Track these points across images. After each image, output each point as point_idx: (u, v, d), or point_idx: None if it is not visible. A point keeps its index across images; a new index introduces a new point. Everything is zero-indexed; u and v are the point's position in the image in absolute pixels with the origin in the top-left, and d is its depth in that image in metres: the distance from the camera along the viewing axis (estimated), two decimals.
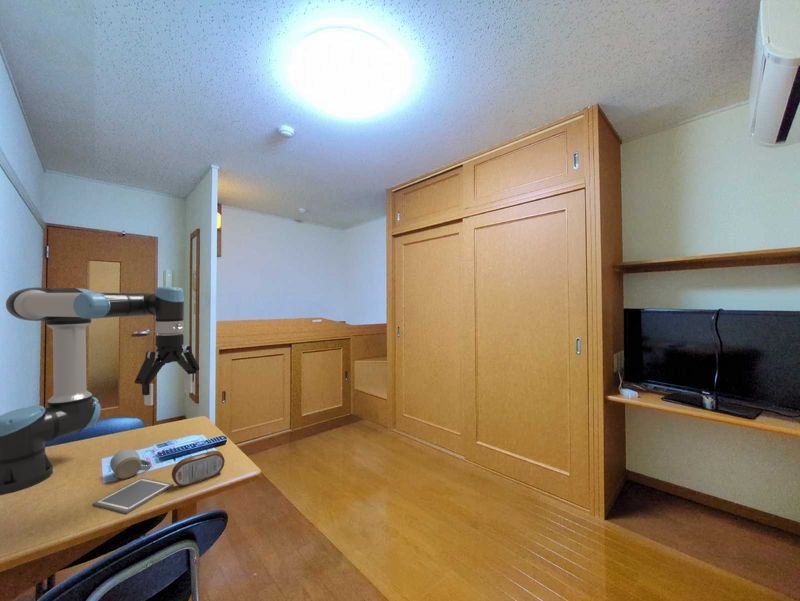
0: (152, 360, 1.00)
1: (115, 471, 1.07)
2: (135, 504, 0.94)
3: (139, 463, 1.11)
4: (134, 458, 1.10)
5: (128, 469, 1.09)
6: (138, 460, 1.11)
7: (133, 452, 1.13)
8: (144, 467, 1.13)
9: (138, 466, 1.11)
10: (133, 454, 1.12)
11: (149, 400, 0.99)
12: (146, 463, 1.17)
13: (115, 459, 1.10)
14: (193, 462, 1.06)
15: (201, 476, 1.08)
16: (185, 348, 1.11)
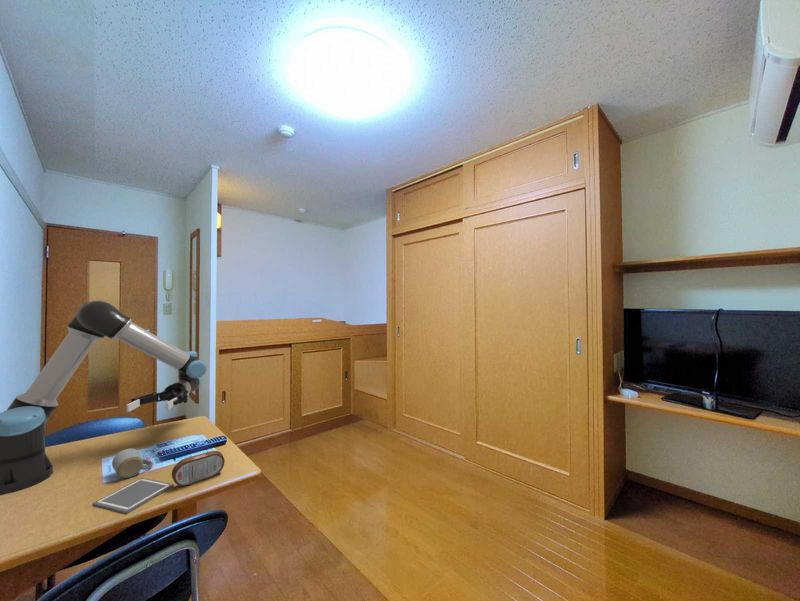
0: None
1: (117, 470, 1.07)
2: (135, 504, 0.94)
3: (141, 462, 1.11)
4: (136, 457, 1.10)
5: (129, 469, 1.09)
6: (140, 459, 1.11)
7: (135, 452, 1.14)
8: (146, 466, 1.13)
9: (140, 465, 1.11)
10: (135, 454, 1.12)
11: (170, 407, 1.25)
12: (148, 462, 1.17)
13: (117, 458, 1.10)
14: (193, 462, 1.06)
15: (201, 476, 1.08)
16: None
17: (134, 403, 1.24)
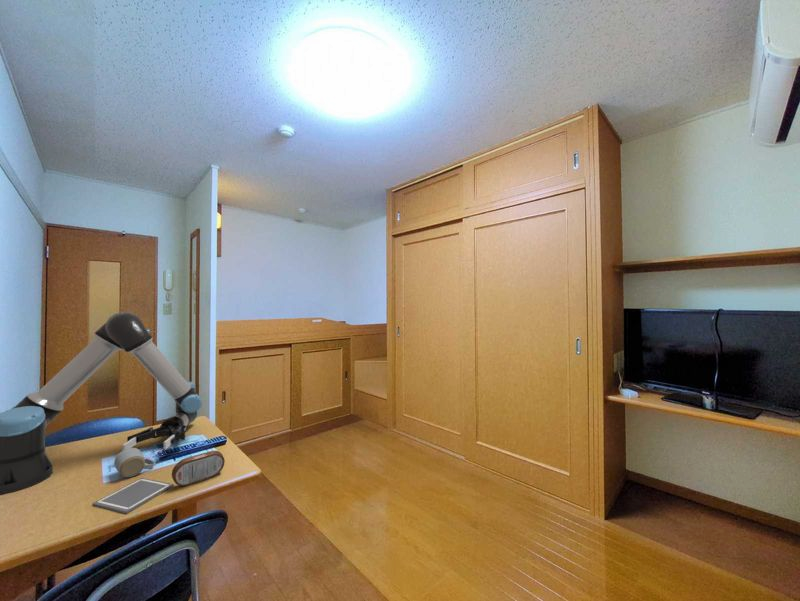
0: None
1: (119, 470, 1.07)
2: (135, 504, 0.94)
3: (143, 462, 1.12)
4: (138, 457, 1.11)
5: (132, 468, 1.09)
6: (142, 459, 1.12)
7: (137, 451, 1.14)
8: (148, 466, 1.14)
9: (142, 465, 1.11)
10: (137, 453, 1.13)
11: (168, 446, 1.22)
12: (150, 462, 1.18)
13: (119, 458, 1.10)
14: (193, 462, 1.06)
15: (201, 476, 1.08)
16: None
17: (130, 442, 1.21)
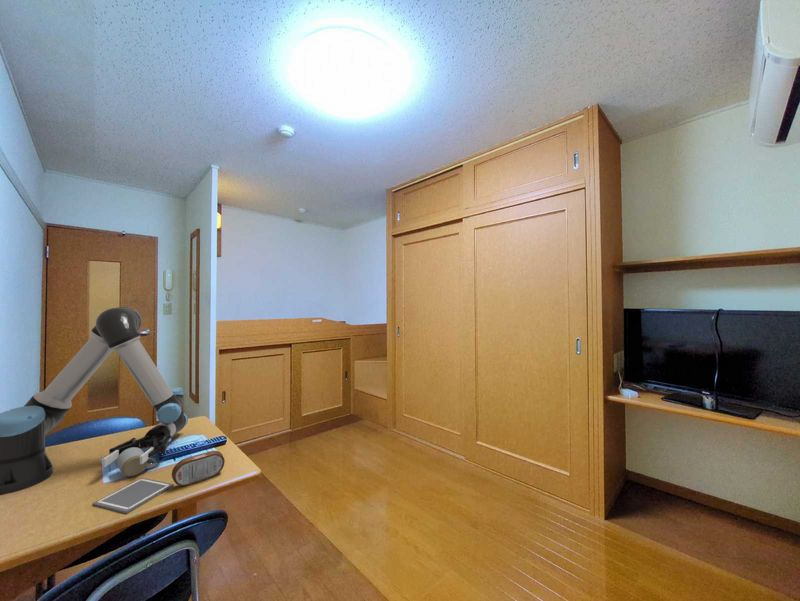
0: None
1: (121, 469, 1.08)
2: (135, 504, 0.94)
3: None
4: None
5: (134, 467, 1.10)
6: None
7: (139, 450, 1.14)
8: (150, 465, 1.14)
9: (144, 464, 1.12)
10: (139, 452, 1.13)
11: (145, 460, 1.11)
12: (152, 461, 1.18)
13: (121, 457, 1.11)
14: (193, 462, 1.06)
15: (201, 476, 1.08)
16: None
17: (112, 455, 1.11)
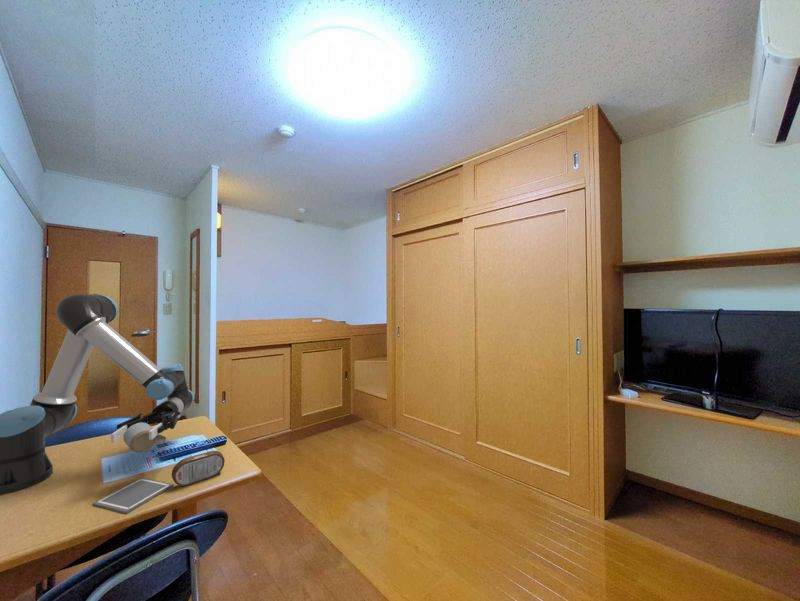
0: None
1: (130, 444, 1.02)
2: (135, 504, 0.94)
3: (154, 437, 1.06)
4: None
5: (142, 443, 1.04)
6: None
7: (147, 426, 1.09)
8: (159, 441, 1.08)
9: (153, 440, 1.06)
10: (147, 427, 1.07)
11: (154, 435, 1.05)
12: (160, 437, 1.12)
13: (129, 432, 1.05)
14: (193, 462, 1.06)
15: (201, 476, 1.08)
16: None
17: (120, 431, 1.05)
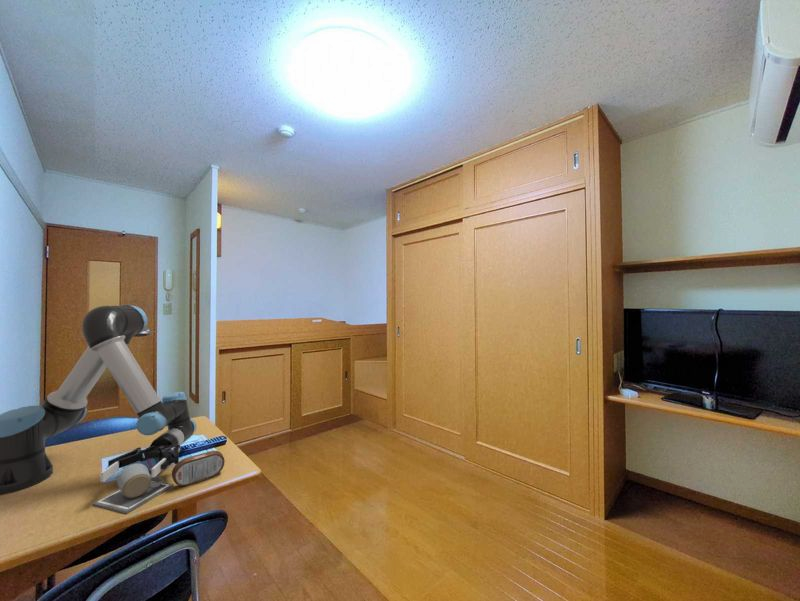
0: None
1: (122, 490, 0.95)
2: (135, 504, 0.94)
3: (149, 480, 0.99)
4: (143, 475, 0.98)
5: (136, 488, 0.97)
6: (148, 477, 0.99)
7: (142, 467, 1.02)
8: (154, 484, 1.01)
9: (148, 484, 0.99)
10: (142, 470, 1.00)
11: (157, 473, 0.99)
12: (157, 479, 1.05)
13: (122, 476, 0.98)
14: (193, 462, 1.06)
15: (201, 476, 1.08)
16: None
17: (111, 468, 0.99)
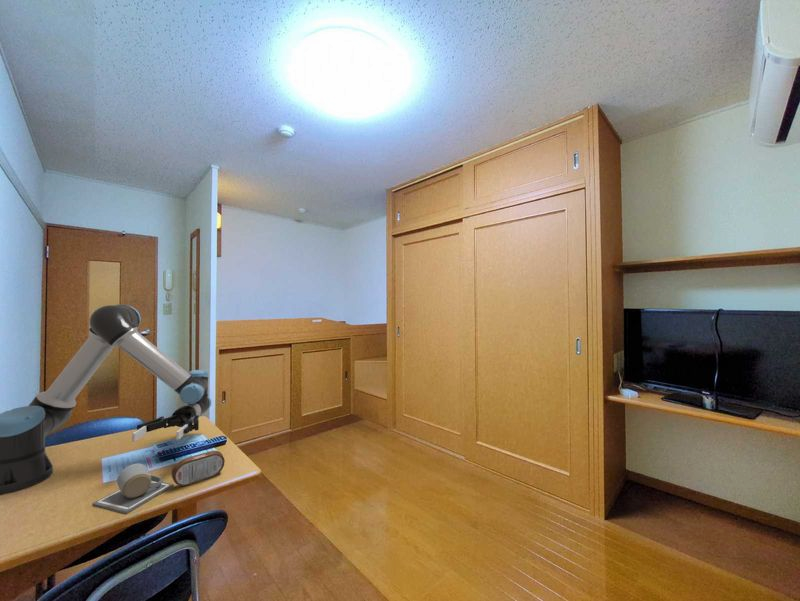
0: None
1: (122, 490, 0.95)
2: (135, 504, 0.94)
3: (149, 480, 0.99)
4: (143, 475, 0.98)
5: (136, 488, 0.97)
6: (148, 477, 0.99)
7: (142, 467, 1.02)
8: (154, 484, 1.01)
9: (148, 484, 0.99)
10: (142, 470, 1.00)
11: (180, 436, 1.12)
12: (157, 479, 1.05)
13: (122, 476, 0.98)
14: (193, 462, 1.06)
15: (201, 476, 1.08)
16: None
17: (140, 431, 1.12)
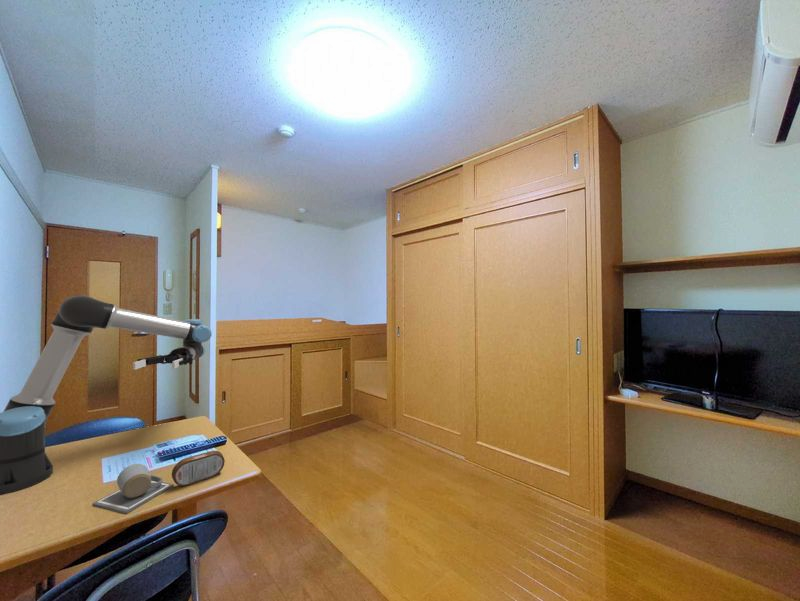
0: None
1: (122, 490, 0.95)
2: (135, 504, 0.94)
3: (149, 480, 0.99)
4: (143, 475, 0.98)
5: (136, 488, 0.97)
6: (148, 477, 0.99)
7: (142, 467, 1.02)
8: (154, 484, 1.01)
9: (148, 484, 0.99)
10: (142, 470, 1.00)
11: (176, 366, 1.26)
12: (157, 479, 1.05)
13: (122, 476, 0.98)
14: (193, 462, 1.06)
15: (201, 476, 1.08)
16: None
17: (140, 362, 1.26)
